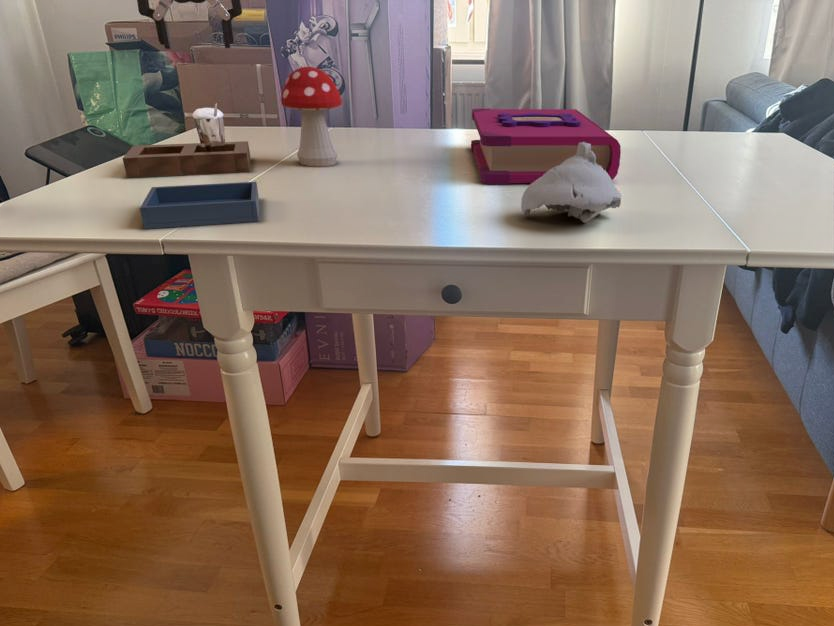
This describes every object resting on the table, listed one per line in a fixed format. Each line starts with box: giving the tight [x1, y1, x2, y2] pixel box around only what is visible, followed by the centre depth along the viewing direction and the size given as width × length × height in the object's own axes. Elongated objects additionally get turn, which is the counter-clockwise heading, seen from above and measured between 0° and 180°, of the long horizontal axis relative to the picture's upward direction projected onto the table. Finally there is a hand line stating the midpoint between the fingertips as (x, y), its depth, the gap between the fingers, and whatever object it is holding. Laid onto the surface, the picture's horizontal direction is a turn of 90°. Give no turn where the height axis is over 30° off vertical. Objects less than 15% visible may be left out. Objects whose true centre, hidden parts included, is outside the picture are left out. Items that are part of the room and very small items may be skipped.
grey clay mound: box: [520, 142, 622, 224], centre depth 84 cm, size 12×12×11 cm
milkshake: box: [192, 103, 226, 152], centre depth 108 cm, size 4×5×10 cm
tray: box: [139, 181, 260, 230], centre depth 86 cm, size 13×10×3 cm
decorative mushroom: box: [280, 66, 343, 167], centre depth 110 cm, size 10×9×15 cm
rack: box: [121, 140, 251, 179], centre depth 109 cm, size 18×10×3 cm, turn 106°
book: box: [470, 108, 622, 185], centre depth 113 cm, size 21×28×8 cm
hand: (198, 48), depth 102 cm, fingers open, 8 cm apart
